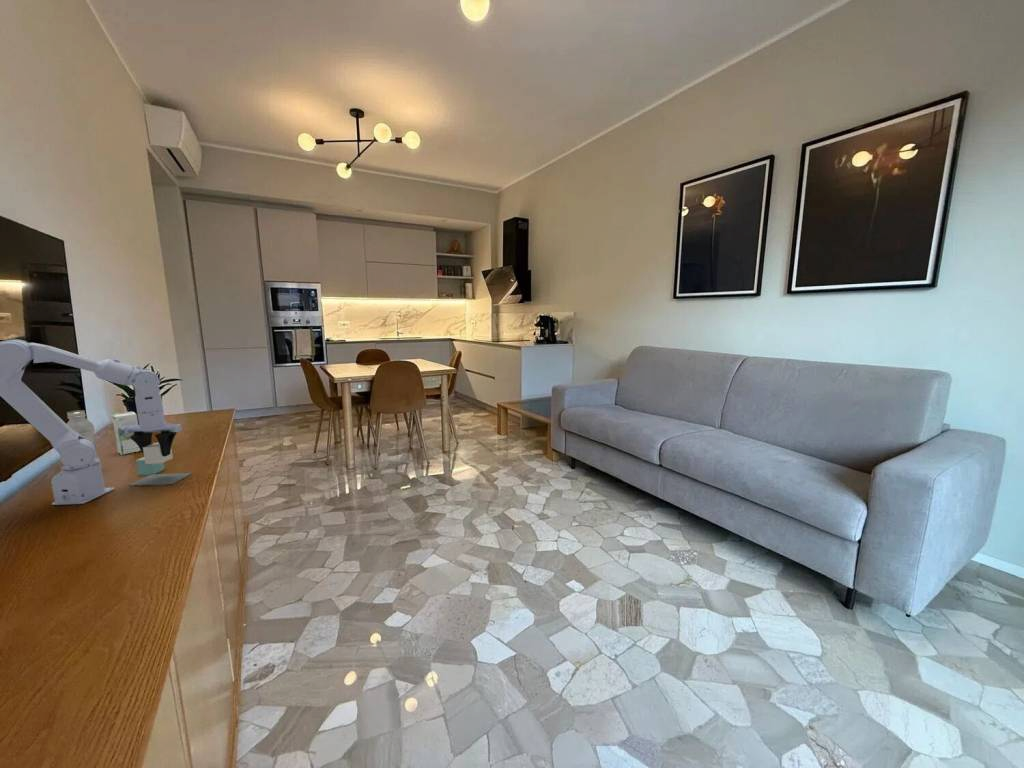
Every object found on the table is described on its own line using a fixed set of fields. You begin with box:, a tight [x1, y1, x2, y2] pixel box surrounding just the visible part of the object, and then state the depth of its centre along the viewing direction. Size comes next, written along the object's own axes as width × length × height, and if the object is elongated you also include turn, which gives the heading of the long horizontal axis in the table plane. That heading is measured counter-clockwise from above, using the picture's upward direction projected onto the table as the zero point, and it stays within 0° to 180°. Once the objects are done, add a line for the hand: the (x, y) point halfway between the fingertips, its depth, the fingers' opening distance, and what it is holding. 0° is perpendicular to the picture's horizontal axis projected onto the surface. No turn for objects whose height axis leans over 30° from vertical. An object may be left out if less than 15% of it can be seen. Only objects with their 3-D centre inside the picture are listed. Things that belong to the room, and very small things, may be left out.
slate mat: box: [128, 472, 192, 487], centre depth 124 cm, size 8×12×1 cm, turn 94°
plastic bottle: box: [66, 409, 102, 464], centre depth 128 cm, size 6×7×20 cm
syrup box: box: [111, 411, 142, 456], centre depth 149 cm, size 6×6×14 cm
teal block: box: [135, 456, 165, 476], centre depth 130 cm, size 4×4×5 cm
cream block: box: [143, 442, 174, 464], centre depth 123 cm, size 4×4×5 cm
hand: (157, 455), depth 123 cm, fingers closed on cream block, 4 cm apart
